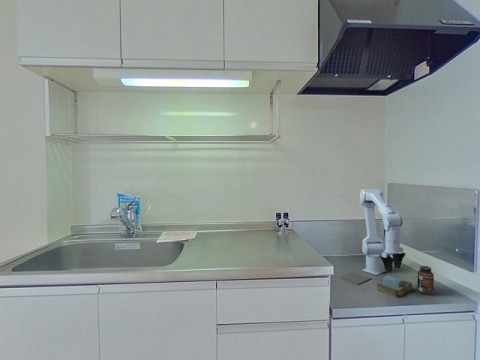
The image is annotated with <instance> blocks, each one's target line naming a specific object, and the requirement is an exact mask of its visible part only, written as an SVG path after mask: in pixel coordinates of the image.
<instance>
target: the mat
mask: <svg viewBox="0 0 480 360" xmlns="http://www.w3.org/2000/svg"><path fill="white" fill-rule="evenodd" d="M339 279H341V280H344V281H347V282H349V283H352V284H354V285H357V286H359V285H361V284H363V283H366V282H368V281H370V280H372V278H371V277H368V276H367V275H363V274H360V273H359V272H358V273H357V272H355V271H352V272H349V273H347V274H345V275H342V276H339Z"/></svg>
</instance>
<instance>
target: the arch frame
mask: <svg viewBox="0 0 480 360" xmlns="http://www.w3.org/2000/svg"><path fill="white" fill-rule="evenodd" d="M412 285H413V283H412V282H409V281H406V280H403V286H402V287H400V288H398V289H393V288H390V287H388V286H385V285H383V283H382V284H381V283H378V282H377V283H376V290H377V291H379V292H382V293H384V294H386V295H389V296H392V297H394V298H400V297H401V296H403V295H404V294H407V293H408V292H410V291H412V290H413V289H412V288H413V286H412Z"/></svg>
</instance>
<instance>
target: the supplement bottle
mask: <svg viewBox="0 0 480 360" xmlns="http://www.w3.org/2000/svg"><path fill="white" fill-rule="evenodd" d="M434 276H435V275H434V273H433V272H432V268H431V267H430V266H428V265H421V266H419V270H417V282H416V283H417V287H416V288H417V292H418V293H420V294H422V295H425V296H431V295H434V291H435V289H434V288H435V277H434Z"/></svg>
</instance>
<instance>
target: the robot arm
mask: <svg viewBox="0 0 480 360" xmlns="http://www.w3.org/2000/svg"><path fill="white" fill-rule="evenodd" d="M383 196H384V195H383V190H381V189H380V188H376V189H375V188H373V189H371V188H367V189H364V188H363V189H360V192H359V198H360V199H359V201H360V205H361V206H363V209H364V210H363V211H364V220H365V227H366V237H364V238H363V239H362V240H361V241H362V242H361V243H362V244H361V248H362V249H361V250H362V252H363V254H364V255H365V268H362V272H366V273H369V274H372V275H375V276H378V275H380V274H383V273H384V272H386V273H392V271H393V266H394V268H395V269H401V267H402V263H403V260H404V258H405V256H406V253H405V252H404V247H403V246H401V227H402V226H403V221H404V220H403V216H402V214H401V213H398V212H395V210H394V209H393V208H392V207H391V205H390V204H389V203H386V202H385V200H384V198H383ZM375 206H377V211H378V213H379V215H380V216H381V217H382V223H383V228H384V230H385V244H384V240H383V239H382V238H380V237H379V236H378V231H377V221H376V213H375ZM391 256H392V257H391Z"/></svg>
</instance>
